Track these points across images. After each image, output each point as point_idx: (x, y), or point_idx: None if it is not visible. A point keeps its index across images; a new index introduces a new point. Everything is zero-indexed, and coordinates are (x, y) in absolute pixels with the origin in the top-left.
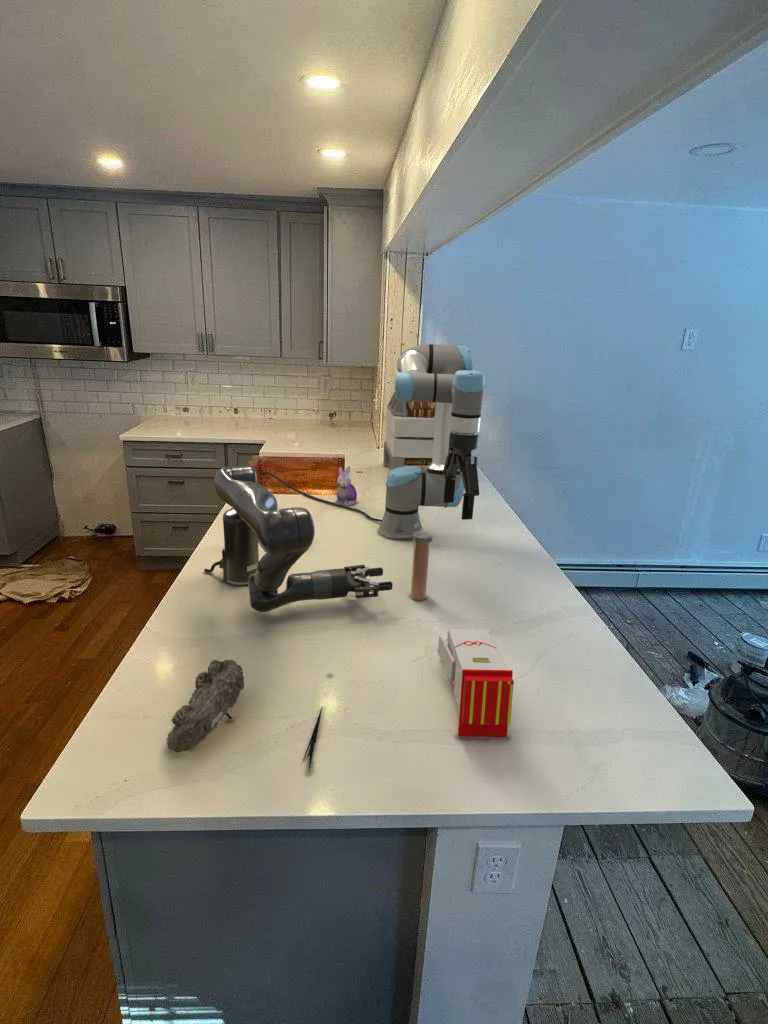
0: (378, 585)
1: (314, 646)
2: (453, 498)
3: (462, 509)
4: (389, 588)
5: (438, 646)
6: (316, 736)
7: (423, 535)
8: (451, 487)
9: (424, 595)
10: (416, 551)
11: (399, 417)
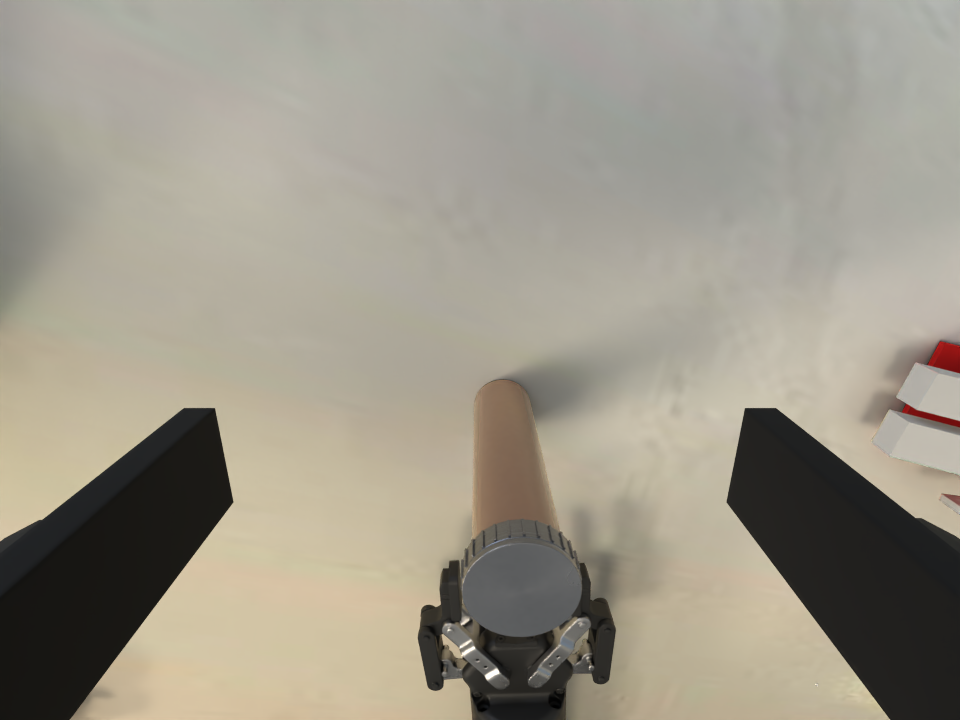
0: (588, 617)
1: (691, 694)
2: (190, 435)
3: (789, 576)
4: (587, 571)
5: (958, 512)
6: None
7: (540, 592)
8: (96, 576)
9: (528, 398)
10: None
11: None
